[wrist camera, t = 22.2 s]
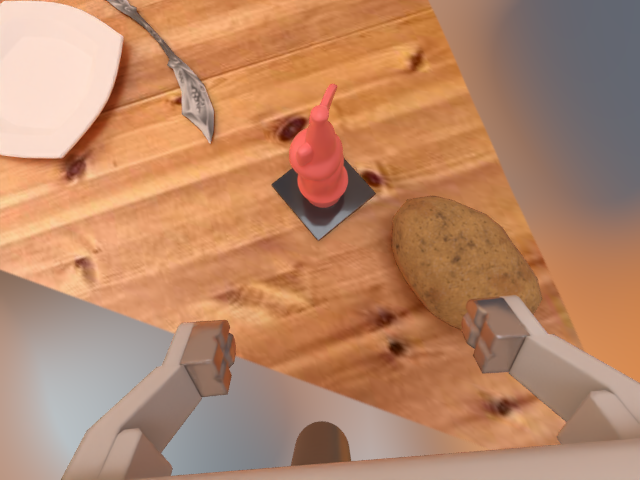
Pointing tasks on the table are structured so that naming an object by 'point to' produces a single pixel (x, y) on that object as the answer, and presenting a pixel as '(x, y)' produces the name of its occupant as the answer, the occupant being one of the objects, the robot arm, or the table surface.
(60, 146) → the plate
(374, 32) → the table surface
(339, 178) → the figurine
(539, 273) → the table surface
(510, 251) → the potato
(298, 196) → the coaster
